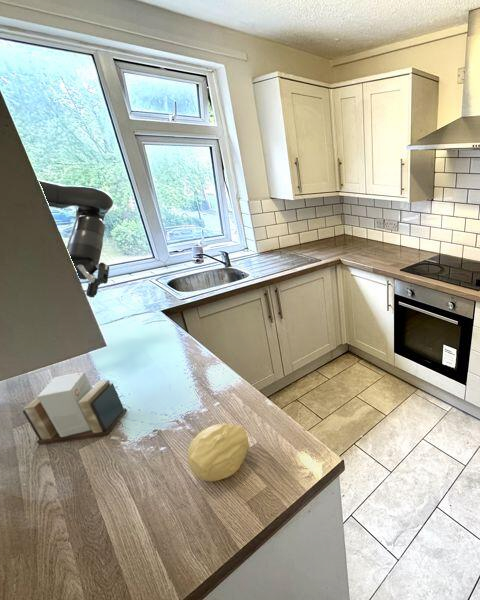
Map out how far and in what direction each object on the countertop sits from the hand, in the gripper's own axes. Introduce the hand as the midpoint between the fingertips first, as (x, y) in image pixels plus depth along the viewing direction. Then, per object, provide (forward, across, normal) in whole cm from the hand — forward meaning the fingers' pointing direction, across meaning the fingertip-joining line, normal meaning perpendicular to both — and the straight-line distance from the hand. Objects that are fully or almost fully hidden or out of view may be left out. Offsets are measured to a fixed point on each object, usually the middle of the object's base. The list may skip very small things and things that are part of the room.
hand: (73, 297), depth 94 cm
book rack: (+36, +7, +4) cm, 37 cm away
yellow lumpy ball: (+50, +46, -10) cm, 69 cm away
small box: (+35, +7, +3) cm, 36 cm away
